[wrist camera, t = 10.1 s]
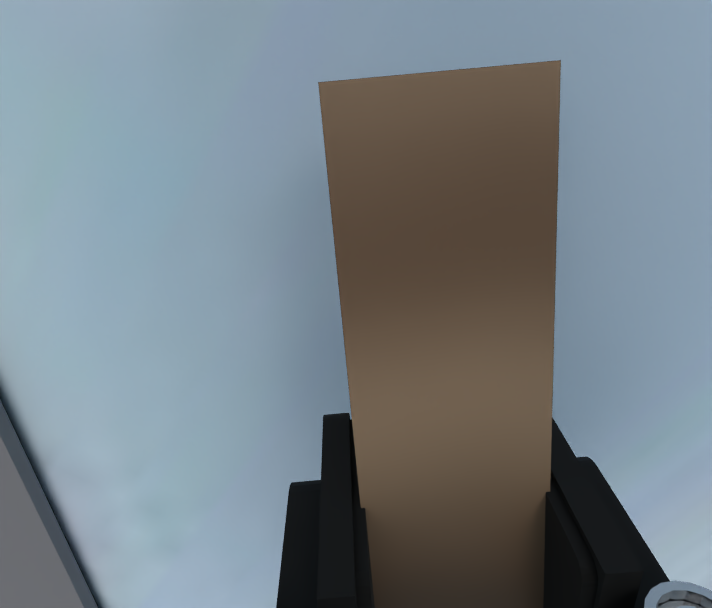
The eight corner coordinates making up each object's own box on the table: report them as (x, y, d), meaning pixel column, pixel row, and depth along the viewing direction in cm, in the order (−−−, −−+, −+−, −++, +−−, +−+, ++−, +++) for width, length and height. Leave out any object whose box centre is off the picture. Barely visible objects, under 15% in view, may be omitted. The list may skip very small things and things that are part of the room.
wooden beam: (254, 118, 10) (197, 94, 6) (553, 91, 10) (682, 49, 6) (339, 754, 15) (338, 957, 11) (539, 737, 15) (606, 935, 11)
